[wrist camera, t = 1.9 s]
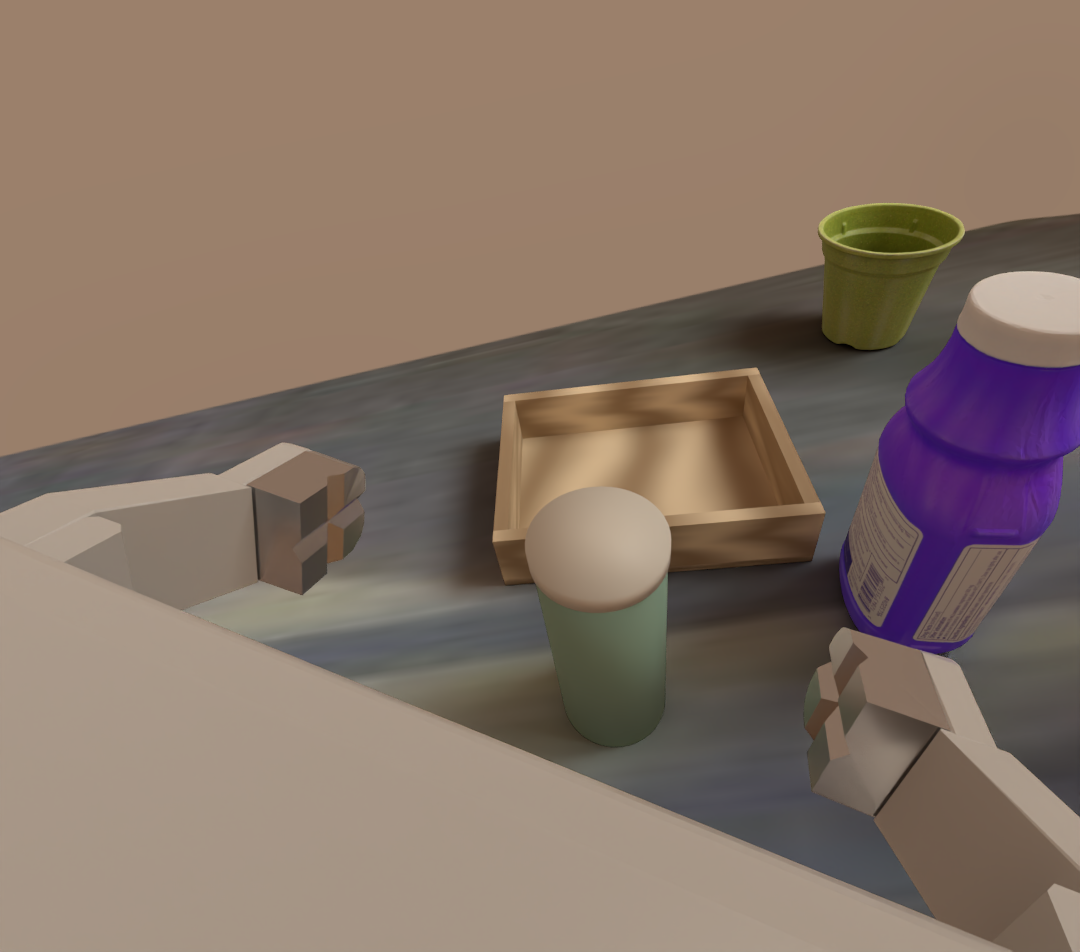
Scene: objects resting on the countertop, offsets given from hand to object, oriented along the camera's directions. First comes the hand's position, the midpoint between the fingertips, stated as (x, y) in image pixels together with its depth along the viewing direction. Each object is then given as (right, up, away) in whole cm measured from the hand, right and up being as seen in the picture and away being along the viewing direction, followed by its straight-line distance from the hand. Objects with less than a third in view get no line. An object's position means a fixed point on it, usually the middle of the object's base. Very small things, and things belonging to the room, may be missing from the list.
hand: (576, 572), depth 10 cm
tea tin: (+3, -9, +20) cm, 22 cm away
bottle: (+18, -5, +21) cm, 28 cm away
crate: (+6, +1, +29) cm, 30 cm away
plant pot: (+26, +13, +39) cm, 49 cm away
